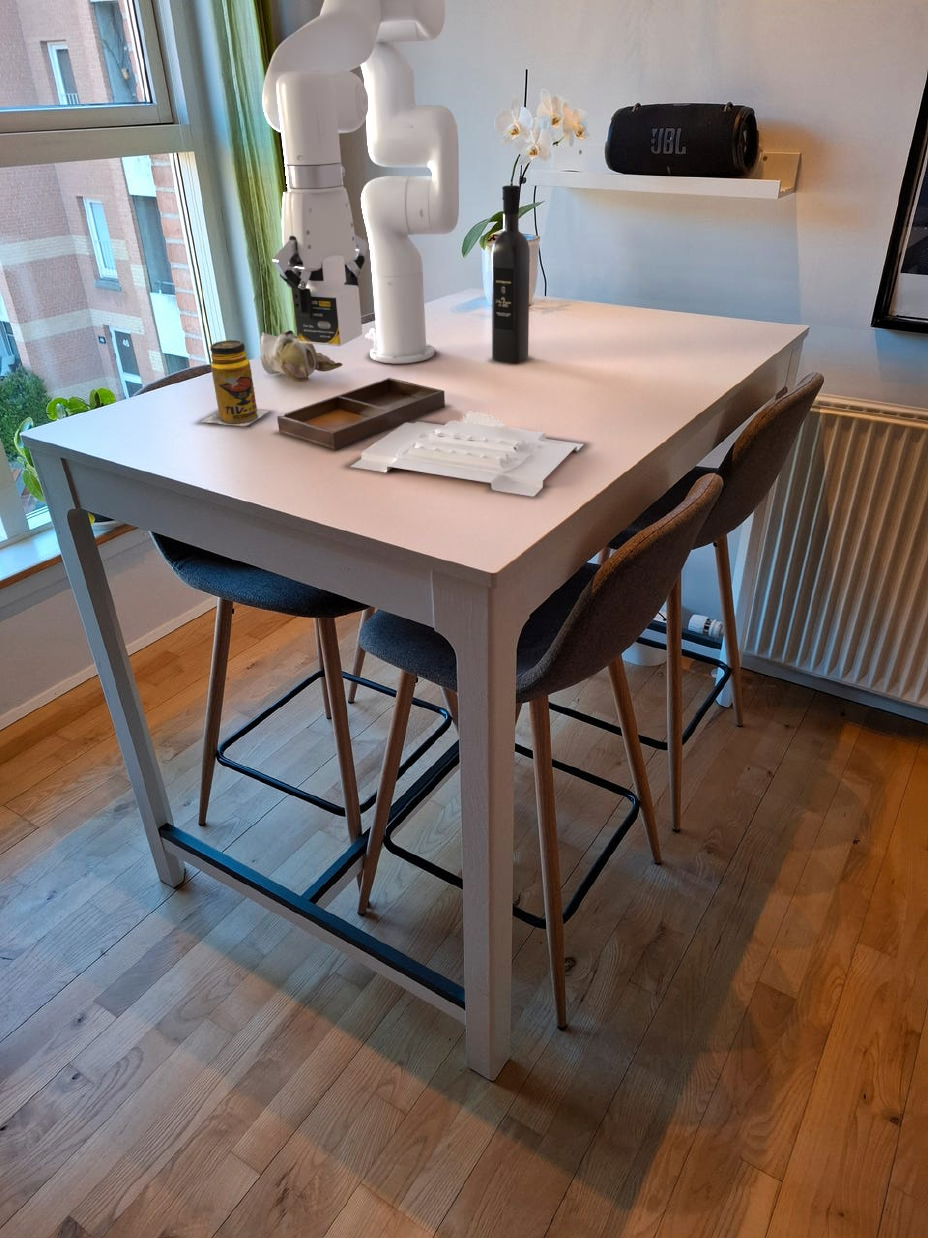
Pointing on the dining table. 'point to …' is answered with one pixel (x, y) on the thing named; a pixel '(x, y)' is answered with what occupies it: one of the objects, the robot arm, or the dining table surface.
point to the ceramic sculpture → (292, 357)
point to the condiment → (233, 385)
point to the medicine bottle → (331, 307)
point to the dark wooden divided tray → (360, 413)
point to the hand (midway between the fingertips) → (328, 310)
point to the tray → (471, 452)
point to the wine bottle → (510, 285)
